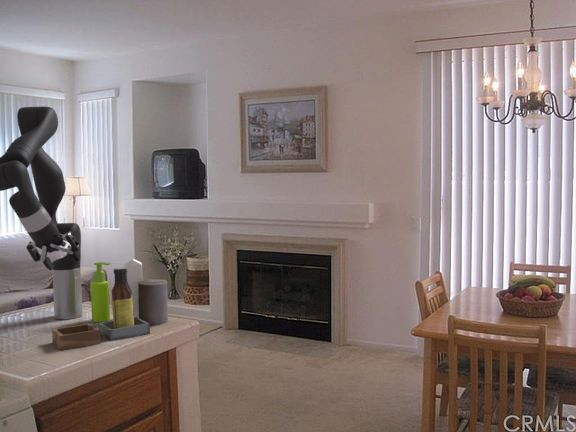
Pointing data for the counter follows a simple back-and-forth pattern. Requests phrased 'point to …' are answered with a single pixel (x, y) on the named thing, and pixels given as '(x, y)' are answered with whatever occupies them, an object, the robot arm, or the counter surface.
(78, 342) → the collar
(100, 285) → the soap dispenser
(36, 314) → the counter surface
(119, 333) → the tray
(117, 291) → the sauce bottle
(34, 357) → the counter surface
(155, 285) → the pillar candle
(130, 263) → the milk
